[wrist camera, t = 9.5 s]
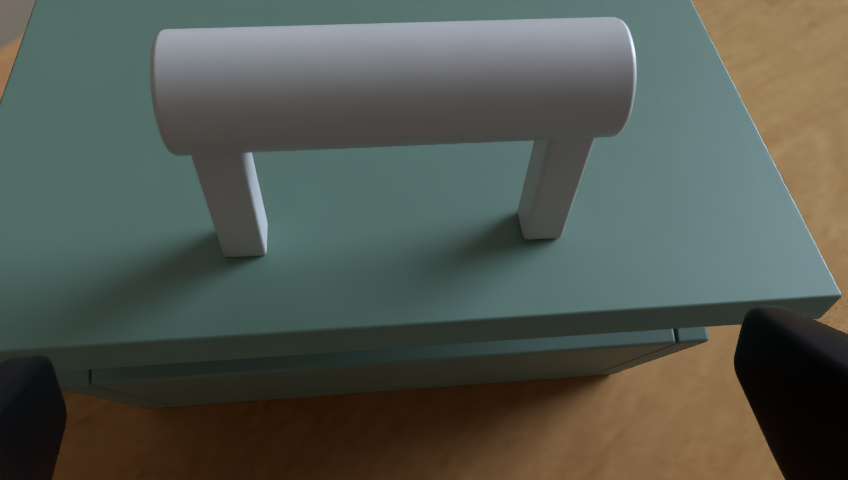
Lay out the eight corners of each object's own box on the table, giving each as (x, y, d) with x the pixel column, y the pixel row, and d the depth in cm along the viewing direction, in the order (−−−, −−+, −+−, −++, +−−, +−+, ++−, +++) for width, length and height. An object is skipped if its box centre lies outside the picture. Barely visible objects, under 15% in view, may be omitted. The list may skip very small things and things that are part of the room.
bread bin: (614, 374, 23) (710, 341, 16) (146, 408, 22) (50, 388, 15) (565, 55, 26) (629, -77, 20) (156, 68, 25) (81, -68, 18)
